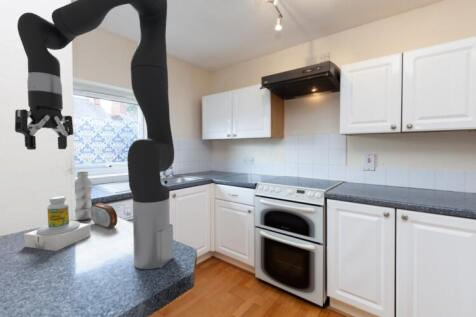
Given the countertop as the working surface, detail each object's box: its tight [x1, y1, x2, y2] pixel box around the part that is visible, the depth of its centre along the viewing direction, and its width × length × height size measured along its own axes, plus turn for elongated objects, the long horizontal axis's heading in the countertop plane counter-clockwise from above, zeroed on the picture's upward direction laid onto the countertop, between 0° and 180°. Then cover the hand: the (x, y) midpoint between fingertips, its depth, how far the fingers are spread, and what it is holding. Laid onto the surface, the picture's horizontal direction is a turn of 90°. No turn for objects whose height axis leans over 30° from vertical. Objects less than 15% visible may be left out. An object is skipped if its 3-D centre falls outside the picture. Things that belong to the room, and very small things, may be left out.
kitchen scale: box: [24, 220, 91, 252], centre depth 75 cm, size 12×12×5 cm
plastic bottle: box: [74, 171, 93, 221], centre depth 96 cm, size 6×7×20 cm
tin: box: [90, 202, 118, 229], centre depth 89 cm, size 15×3×8 cm, turn 58°
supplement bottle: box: [46, 195, 70, 229], centre depth 74 cm, size 5×5×10 cm
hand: (47, 149), depth 66 cm, fingers open, 8 cm apart
